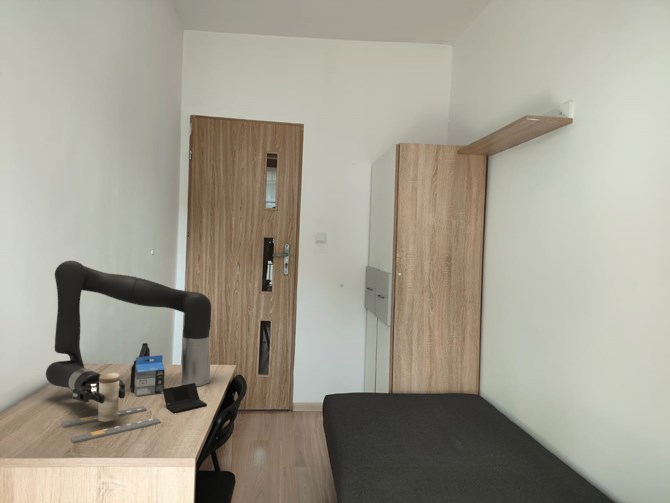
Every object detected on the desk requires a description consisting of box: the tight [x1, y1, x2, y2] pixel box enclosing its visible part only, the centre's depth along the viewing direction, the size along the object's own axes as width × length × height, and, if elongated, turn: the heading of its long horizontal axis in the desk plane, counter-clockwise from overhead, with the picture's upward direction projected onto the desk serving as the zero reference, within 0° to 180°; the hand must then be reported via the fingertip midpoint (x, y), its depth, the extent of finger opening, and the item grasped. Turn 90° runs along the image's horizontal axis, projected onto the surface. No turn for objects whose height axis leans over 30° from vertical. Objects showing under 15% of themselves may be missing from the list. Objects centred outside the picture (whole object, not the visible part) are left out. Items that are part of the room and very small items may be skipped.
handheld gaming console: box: [162, 383, 208, 415], centre depth 143 cm, size 12×7×10 cm
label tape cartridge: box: [133, 354, 166, 397], centre depth 153 cm, size 9×4×12 cm, turn 123°
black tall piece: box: [129, 342, 151, 390], centre depth 167 cm, size 17×3×30 cm
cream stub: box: [97, 372, 121, 422], centre depth 126 cm, size 5×5×12 cm
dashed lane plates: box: [61, 405, 162, 444], centre depth 126 cm, size 22×15×1 cm
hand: (113, 397), depth 124 cm, fingers closed on cream stub, 5 cm apart
